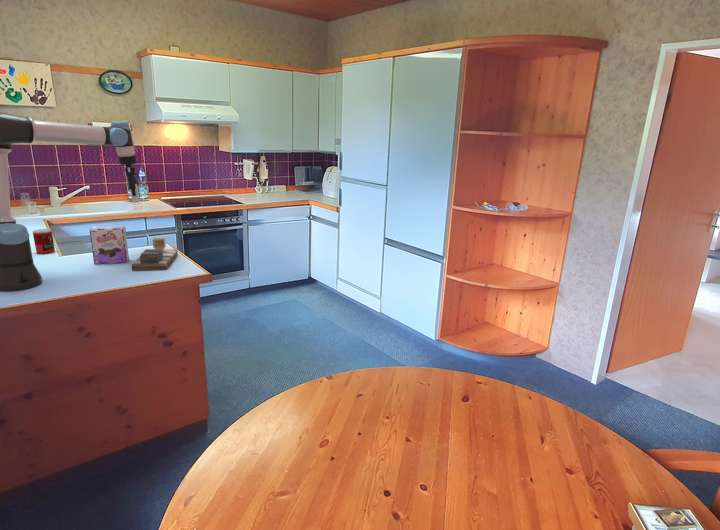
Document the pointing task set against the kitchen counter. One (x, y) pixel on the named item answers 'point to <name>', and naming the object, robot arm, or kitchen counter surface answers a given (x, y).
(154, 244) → the bolt
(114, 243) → the candy box
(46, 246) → the canned food
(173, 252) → the door mockup
